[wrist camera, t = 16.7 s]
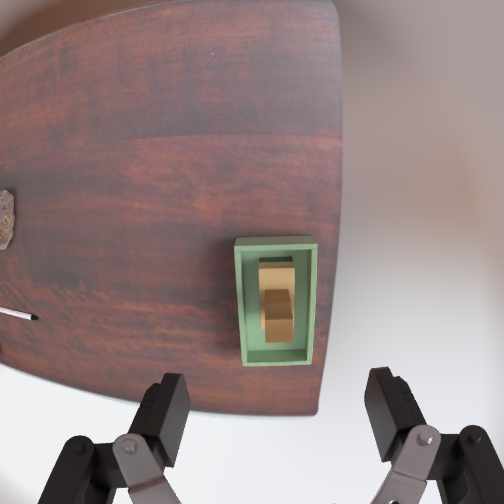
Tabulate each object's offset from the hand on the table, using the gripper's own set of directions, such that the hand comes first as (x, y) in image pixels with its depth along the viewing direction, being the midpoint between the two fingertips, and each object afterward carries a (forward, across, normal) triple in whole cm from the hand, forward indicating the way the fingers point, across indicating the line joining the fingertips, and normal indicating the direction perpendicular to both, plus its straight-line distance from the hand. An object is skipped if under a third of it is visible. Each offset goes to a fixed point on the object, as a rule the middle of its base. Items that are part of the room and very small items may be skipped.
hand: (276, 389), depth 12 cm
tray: (+23, 0, +8) cm, 24 cm away
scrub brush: (+22, 0, +6) cm, 23 cm away
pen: (+23, +46, +11) cm, 53 cm away
